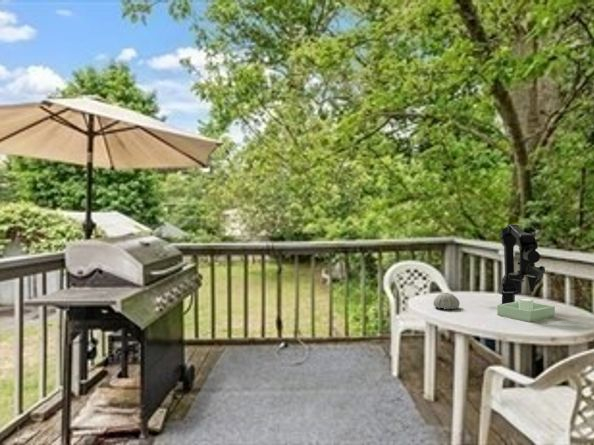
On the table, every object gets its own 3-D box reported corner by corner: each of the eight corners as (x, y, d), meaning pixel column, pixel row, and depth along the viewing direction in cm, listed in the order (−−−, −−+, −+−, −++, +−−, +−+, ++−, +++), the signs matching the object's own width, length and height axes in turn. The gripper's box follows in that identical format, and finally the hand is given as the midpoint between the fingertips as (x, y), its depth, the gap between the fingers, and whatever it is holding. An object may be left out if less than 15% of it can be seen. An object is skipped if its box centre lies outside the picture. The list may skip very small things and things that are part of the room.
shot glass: (515, 312, 281) (515, 298, 281) (529, 312, 282) (529, 298, 281) (522, 315, 274) (522, 301, 274) (536, 315, 275) (536, 300, 275)
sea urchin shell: (431, 305, 307) (430, 291, 307) (456, 305, 307) (456, 290, 306) (436, 311, 294) (436, 295, 294) (462, 310, 294) (462, 295, 293)
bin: (521, 310, 291) (521, 300, 290) (554, 316, 275) (554, 306, 275) (497, 315, 281) (497, 305, 281) (530, 322, 266) (530, 311, 265)
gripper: (528, 263, 265) (528, 297, 266) (553, 260, 275) (552, 292, 275) (507, 261, 274) (507, 293, 275) (532, 258, 284) (532, 289, 285)
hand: (525, 292), depth 277 cm, fingers open, 9 cm apart
